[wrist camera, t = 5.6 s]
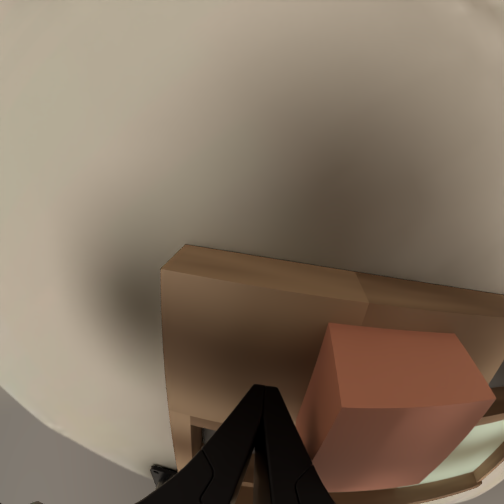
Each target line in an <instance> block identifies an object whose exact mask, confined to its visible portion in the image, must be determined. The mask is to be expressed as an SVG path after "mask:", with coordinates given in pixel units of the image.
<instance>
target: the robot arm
mask: <svg viewBox="0 0 504 504" xmlns="http://www.w3.org/2000/svg"><path fill="white" fill-rule="evenodd" d="M254 447H255V449H254ZM253 450H254V484H253V504H336V503H335V501H334V500H333V499H332V497H331V496H330V494H329V493H328V491H327V489H326V488H325V486H324V485H323V483H322V481H321V479H320V477H319V475H318V473H317V471H316V469H315V467H314V465H312V464H313V463H312V461H311V459H310V457H309V454H308V452H307V450H306V448H305V446H304V444H303V442H302V439H301V437H300V435H299V433H298V431H297V429H296V426H295V424H294V422H293V420H292V418H291V415H290V413H289V411H288V409H287V406H286V404H285V402H284V400H283V398H282V395H281V393H280V391H279V389H278V388H277V387H274V386H265V385H260V384H254V385H252V387H251V388H250V389H249V391H248V392H247V393H246V394H245V396H244V397H243V398H242V400H241V401H240V402H239V403H238V405H237V406H236V407H235V408H234V410H233V411H232V412H231V413H230V415H229V416H228V417H227V418H226V420H225V421H224V422H223V423H222V424H221V426H220V427H219V428H218V429H217V430H216V432H215V433H214V434H213V435H212V436H211V438H210V439H209V440H208V441H207V442H206V443H205V445H204V446H203V447H202V448H201V450H199V451H198V453H197V454H196V455H195V456H194V457H193V458H192V459H191V460H190V461H189V462H188V463H187V464H186V465H185V466H184V467H183V468H182V469H181V470H180V471H179V472H178V473H177V472H174V471H171V470H167V469H164V468H161V467H157V466H152V467H151V470H150V471H151V474H152V476H153V479H154V482H155V484H156V490H155V491H153V492H152V493H151V494H149V495H148V496H147V497H145V498H144V499H142V500H140V501H139V502H137V503H135V504H235V502H236V499H237V496H238V494H239V491H240V488H241V485H242V483H243V480H244V477H245V474H246V471H247V468H248V465H249V462H250V459H251V456H252V453H253ZM0 504H1V503H0ZM31 504H43V503H41V502H39V501H36V502H33V503H31Z"/></svg>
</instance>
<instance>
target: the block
mask: <svg viewBox="0 0 504 504" xmlns="http://www.w3.org/2000/svg"><path fill="white" fill-rule="evenodd" d="M495 400H496V397H495V395H494V393H493V392H492V390H491V388H490V387H489V385H488V383H487V382H486V380H485V378H484V377H483V375H482V374H481V372H480V370H479V369H478V367H477V366H476V364H475V363H474V361H473V360H472V358H471V357H470V355H469V354H468V352H467V351H466V349H465V348H464V346H463V345H462V343H461V342H460V340H459V339H458V338H457V336H456V335H455V333H436V332H421V331H408V330H396V329H384V328H374V327H364V326H355V325H346V324H337V323H328V326H327V329H326V333H325V336H324V339H323V343H322V346H321V349H320V352H319V355H318V358H317V362H316V365H315V368H314V371H313V374H312V377H311V380H310V382H309V385H308V388H307V391H306V394H305V397H304V399H303V402H302V405H301V408H300V410H299V413H298V415H297V418H296V429H297V431H298V433H299V435H300V437H301V439H302V442H303V444H304V446H305V448H306V450H307V452H308V454H309V457H310V459H311V461H312V463H313V464H312V465H314V467H315V469H316V471H317V473H318V475H319V477H320V479H321V481H322V483H323V485H324V486H325V488H326V489H327V491H328V492H351V491H367V490H378V489H387V488H395V487H402V486H409V485H415V484H419V483H420V482H421V481H422V480H424V479H425V478H426V477H427V476H428V475H429V474H430V473H431V472H432V471H433V470H434V469H436V468H437V467H438V466H439V465H440V464H441V463H442V462H443V461H444V460H445V459H446V458H447V457H448V456H449V455H450V454H451V453H452V452H453V450H454V449H455V448H456V447H457V446H458V445H459V444H460V443H461V442H462V441H463V440H464V438H465V437H466V436H467V435H468V434H469V433H470V432H471V430H472V429H473V428H474V427H475V426H476V424H477V423H478V422H479V421H480V419H481V418H482V417H483V416H484V414H485V413H486V412H487V410H488V409H489V408H490V407H491V405H492V404H493V402H494V401H495Z"/></svg>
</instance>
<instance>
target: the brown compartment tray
mask: <svg viewBox="0 0 504 504" xmlns="http://www.w3.org/2000/svg"><path fill="white" fill-rule="evenodd" d="M161 315H162V337H163V353H164V367H165V379H166V390H167V399H168V408H169V417H170V425H171V432H172V439H173V446H174V452H175V459H176V465H177V470H178V472H179V471H180V470H181V469H182V468H183V467H184V466H185V465H186V464H187V463H188V462H189V461H190V460H191V459H192V458H193V457H194V456H195V455H196V454H197V453H198V451H199V450H201V448H202V447H203V446H204V445H205V443H206V442H207V441H208V440H209V439H210V438H211V436H212V435H213V434H214V433H215V432H216V430H217V429H218V428H219V427H220V426H221V424H222V423H223V422H224V421H225V420H226V418H227V417H228V416H229V415H230V413H231V412H232V411H233V410H234V408H235V407H236V406H237V405H238V403H239V402H240V401H241V400H242V398H243V397H244V396H245V394H246V393H247V392H248V391H249V389H250V388H251V387H252V385H254V384H260V385H265V386H274V387H277V388H278V389H279V391H280V393H281V395H282V398H283V400H284V402H285V404H286V406H287V409H288V411H289V413H290V415H291V418H292V420H293V422H294V424H295V426H296V418H297V415H298V413H299V410H300V408H301V405H302V402H303V399H304V397H305V394H306V391H307V388H308V385H309V382H310V380H311V377H312V374H313V371H314V368H315V365H316V362H317V358H318V355H319V352H320V349H321V346H322V343H323V339H324V336H325V333H326V329H327V326H328V323H337V324H346V325H355V326H364V327H374V328H384V329H396V330H408V331H421V332H436V333H455V335H456V336H457V338H458V339H459V340H460V342H461V343H462V345H463V346H464V348H465V349H466V351H467V352H468V354H469V355H470V357H471V358H472V360H473V361H474V363H475V364H476V366H477V367H478V369H479V370H480V372H481V374H482V375H483V377H484V378H485V380H486V382H487V383H488V385H489V387H490V388H491V390H492V392H493V393H494V395H495V397H496V400H495V401H494V402H493V404H492V405H491V407H490V408H489V409H488V410H487V412H486V413H485V414H484V416H483V417H482V418H481V419H480V421H479V422H478V423H477V424H476V426H475V427H474V428H473V429H472V430H471V432H470V433H469V434H468V435H467V436H466V437H465V438H464V440H463V441H462V442H461V443H460V444H459V445H458V446H457V447H456V448H455V449H454V450H453V452H452V453H451V454H450V455H449V456H448V457H447V458H446V459H445V460H444V461H443V462H442V463H441V464H440V465H439V466H438V467H437V468H436V469H434V470H433V471H432V472H431V473H430V474H429V475H428V476H427V477H426V478H425V479H424V480H422V481H421V482H420V483H419V484H415V485H409V486H402V487H395V488H387V489H378V490H367V491H351V492H328V493H329V494H330V496H331V497H332V499H333V500H334V501H335V503H336V504H420V503H424V502H429V501H433V500H437V499H441V498H445V497H448V496H452V495H455V494H458V493H462V492H465V491H468V490H471V489H474V488H477V487H478V486H480V485H481V484H482V480H483V479H484V478H485V477H486V476H487V475H489V474H490V473H491V472H492V471H493V470H494V469H495V468H496V467H497V466H498V465H499V464H501V463H502V462H503V461H504V295H501V294H494V293H487V292H481V291H475V290H468V289H462V288H455V287H449V286H442V285H436V284H430V283H423V282H417V281H410V280H404V279H398V278H391V277H385V276H379V275H372V274H366V273H360V272H353V271H347V270H341V269H335V268H328V267H322V266H316V265H310V264H303V263H297V262H291V261H285V260H278V259H272V258H266V257H260V256H254V255H247V254H241V253H235V252H229V251H223V250H217V249H210V248H204V247H198V246H192V245H186V244H185V245H184V246H183V247H182V248H181V249H180V250H179V251H178V252H177V253H176V254H175V255H174V256H173V257H172V258H171V259H170V260H169V261H168V262H167V263H166V264H165V265H164V266H163V267H162V268H161ZM202 428H204V443H202ZM254 449H255V447H254ZM253 484H254V450H253V453H252V456H251V459H250V462H249V465H248V468H247V471H246V474H245V477H244V480H243V483H242V485H241V488H240V491H239V494H238V496H237V499H236V502H235V504H253Z"/></svg>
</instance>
